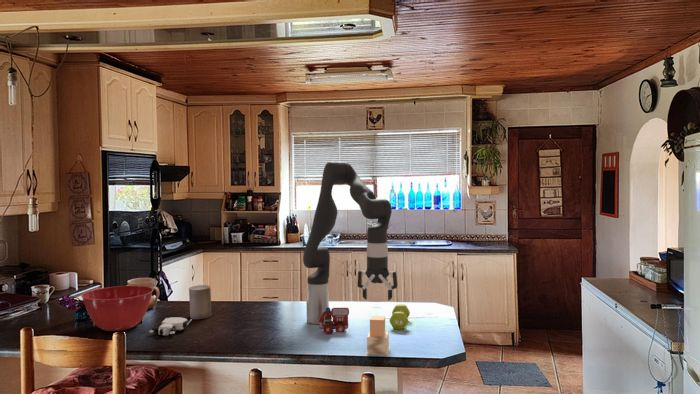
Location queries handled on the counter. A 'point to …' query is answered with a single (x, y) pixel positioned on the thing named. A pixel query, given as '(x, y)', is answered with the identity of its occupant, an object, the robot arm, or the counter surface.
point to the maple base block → (378, 344)
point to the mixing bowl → (117, 306)
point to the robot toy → (171, 325)
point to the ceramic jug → (148, 283)
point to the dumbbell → (399, 317)
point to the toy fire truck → (334, 320)
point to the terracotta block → (377, 326)
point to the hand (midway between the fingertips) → (377, 299)
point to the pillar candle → (200, 302)
